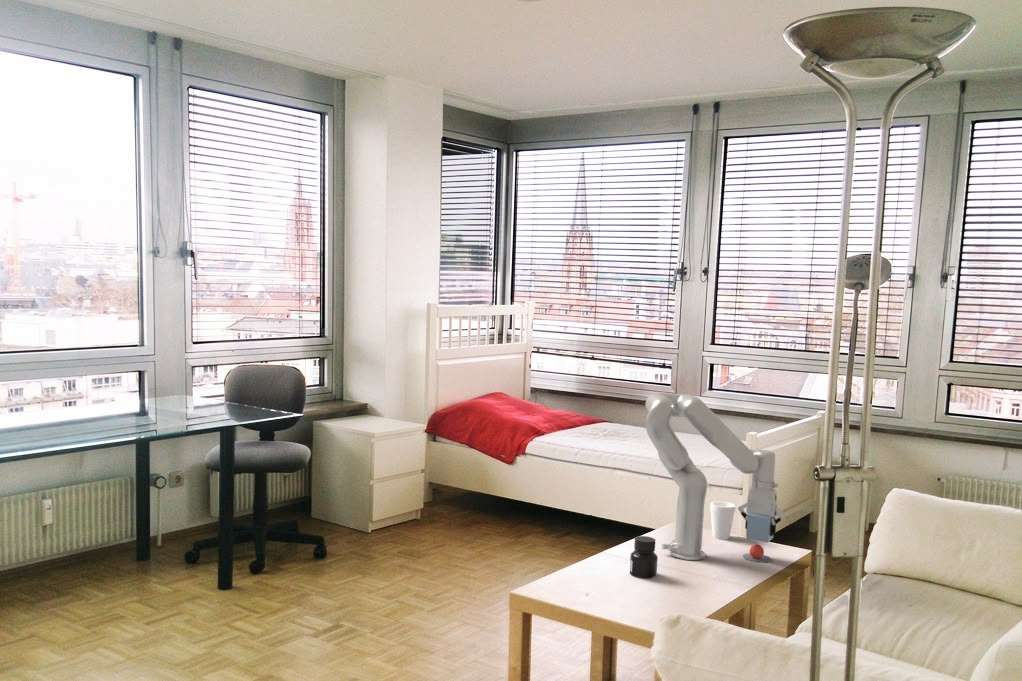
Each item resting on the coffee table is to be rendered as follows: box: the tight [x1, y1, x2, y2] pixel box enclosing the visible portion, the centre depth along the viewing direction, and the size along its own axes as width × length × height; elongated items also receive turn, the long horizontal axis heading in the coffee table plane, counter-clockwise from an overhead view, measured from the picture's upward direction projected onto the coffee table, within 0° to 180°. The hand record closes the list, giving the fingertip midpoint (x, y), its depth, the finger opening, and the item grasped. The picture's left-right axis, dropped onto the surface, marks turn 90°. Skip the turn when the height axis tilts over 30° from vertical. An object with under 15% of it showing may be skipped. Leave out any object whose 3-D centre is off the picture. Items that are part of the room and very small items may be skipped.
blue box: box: [745, 513, 774, 543], centre depth 306 cm, size 8×8×9 cm
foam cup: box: [709, 500, 736, 540], centre depth 331 cm, size 10×9×13 cm
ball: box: [749, 543, 765, 559], centre depth 306 cm, size 5×5×5 cm
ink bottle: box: [629, 535, 658, 579], centre depth 282 cm, size 10×9×12 cm
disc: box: [742, 552, 773, 564], centre depth 306 cm, size 10×10×1 cm
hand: (760, 532), depth 306 cm, fingers closed on blue box, 7 cm apart
